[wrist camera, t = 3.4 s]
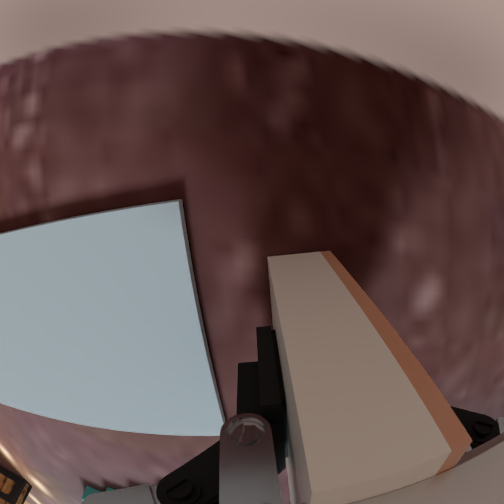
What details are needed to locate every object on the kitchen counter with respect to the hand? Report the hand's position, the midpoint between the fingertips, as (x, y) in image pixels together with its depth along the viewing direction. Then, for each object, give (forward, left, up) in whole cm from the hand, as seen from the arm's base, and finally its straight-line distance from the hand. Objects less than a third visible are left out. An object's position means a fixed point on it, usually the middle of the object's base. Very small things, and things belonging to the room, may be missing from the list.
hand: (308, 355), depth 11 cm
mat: (+14, 0, -2) cm, 14 cm away
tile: (0, 0, -2) cm, 2 cm away
